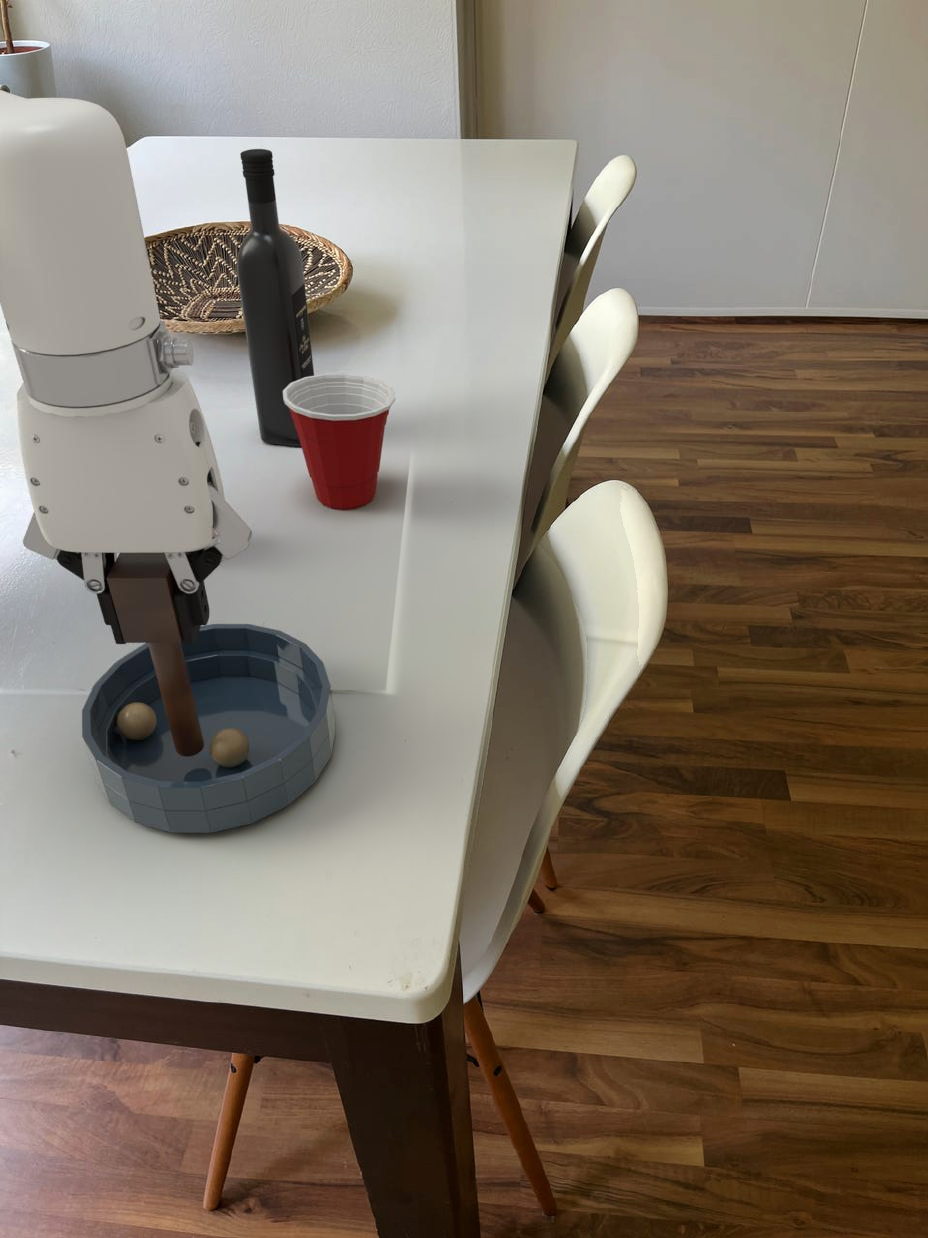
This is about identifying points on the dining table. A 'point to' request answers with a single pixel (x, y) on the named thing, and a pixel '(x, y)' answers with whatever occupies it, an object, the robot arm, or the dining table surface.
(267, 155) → the wine bottle
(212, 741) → the bead
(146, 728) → the bead
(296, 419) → the plastic cup
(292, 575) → the dining table surface
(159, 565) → the stick
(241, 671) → the bowl
